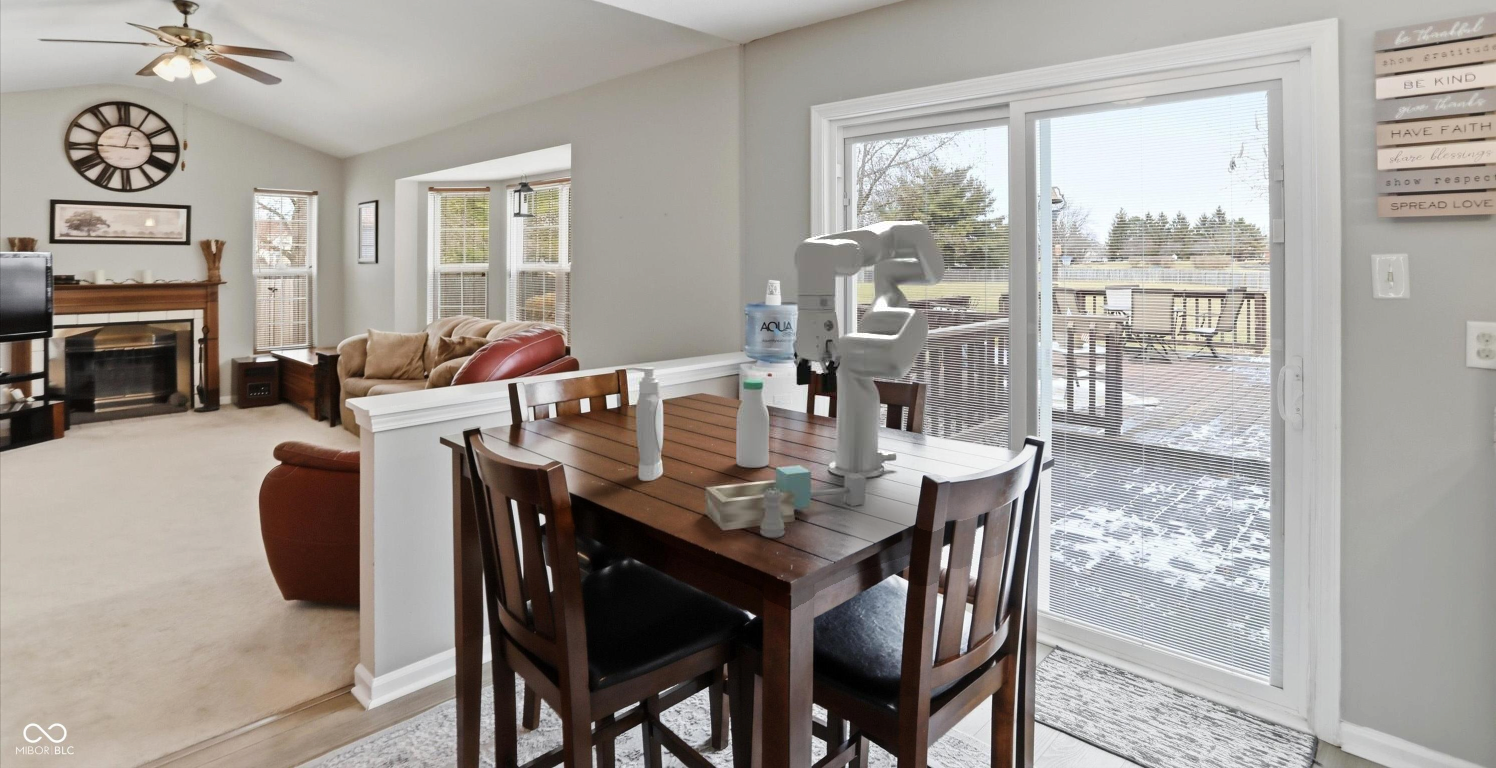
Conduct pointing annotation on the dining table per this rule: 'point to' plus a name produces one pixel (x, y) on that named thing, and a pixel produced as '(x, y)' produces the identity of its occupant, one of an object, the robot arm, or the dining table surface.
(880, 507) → the dining table surface
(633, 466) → the dining table surface
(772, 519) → the rook chess piece
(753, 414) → the milk bottle
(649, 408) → the soap bottle
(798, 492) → the cube dumbbell
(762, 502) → the beige wooden open box
